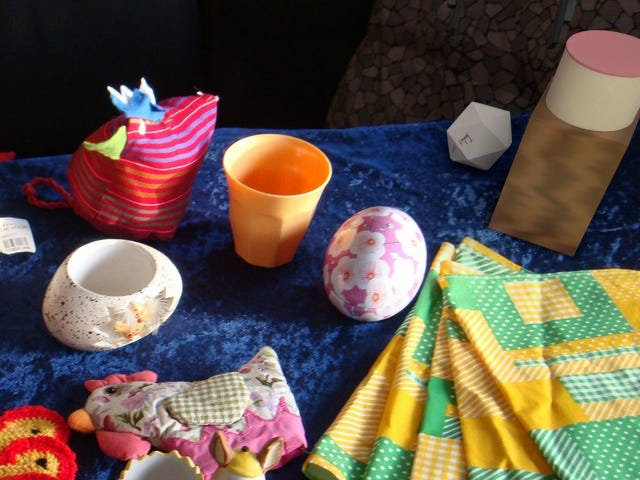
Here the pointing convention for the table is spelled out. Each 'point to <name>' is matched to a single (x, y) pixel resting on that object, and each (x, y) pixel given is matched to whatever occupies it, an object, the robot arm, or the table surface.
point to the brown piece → (558, 180)
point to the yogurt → (597, 81)
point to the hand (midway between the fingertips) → (502, 38)
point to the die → (479, 135)
